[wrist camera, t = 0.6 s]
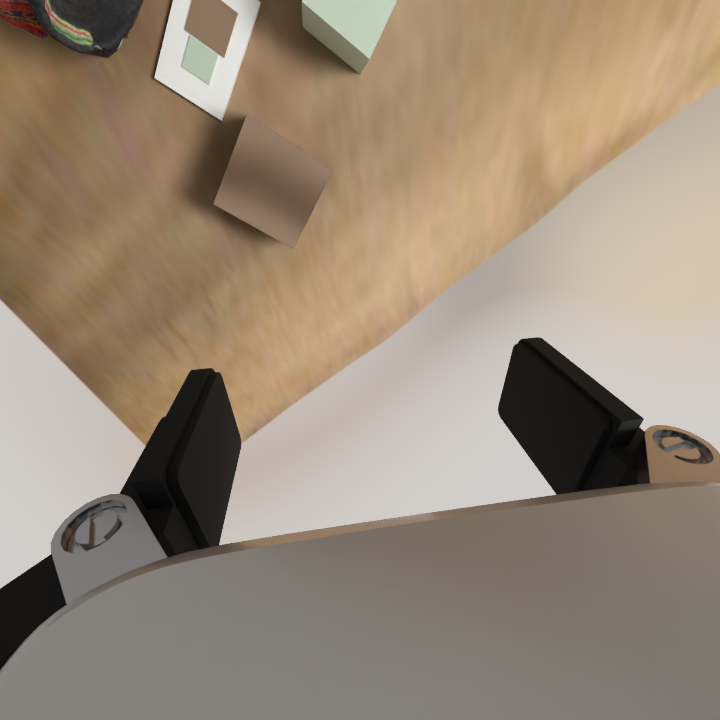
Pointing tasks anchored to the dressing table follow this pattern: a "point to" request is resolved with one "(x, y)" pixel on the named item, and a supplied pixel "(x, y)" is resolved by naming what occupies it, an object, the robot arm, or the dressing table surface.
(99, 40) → the figurine
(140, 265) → the dressing table surface
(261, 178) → the walnut base
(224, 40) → the tile
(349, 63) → the sage cube
